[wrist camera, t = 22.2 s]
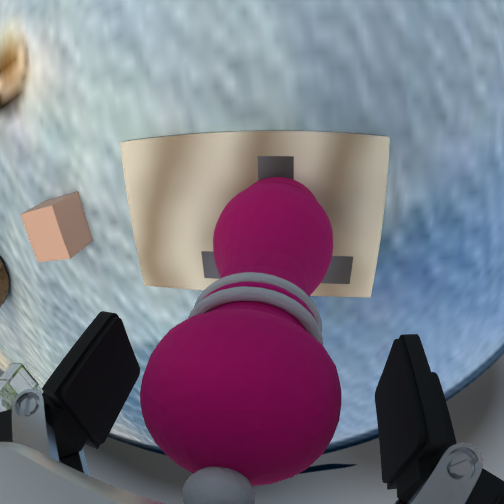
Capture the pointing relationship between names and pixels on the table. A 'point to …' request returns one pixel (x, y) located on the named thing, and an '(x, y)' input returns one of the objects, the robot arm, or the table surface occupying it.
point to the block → (3, 283)
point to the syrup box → (14, 385)
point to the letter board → (242, 177)
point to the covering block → (57, 228)
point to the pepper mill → (250, 353)
